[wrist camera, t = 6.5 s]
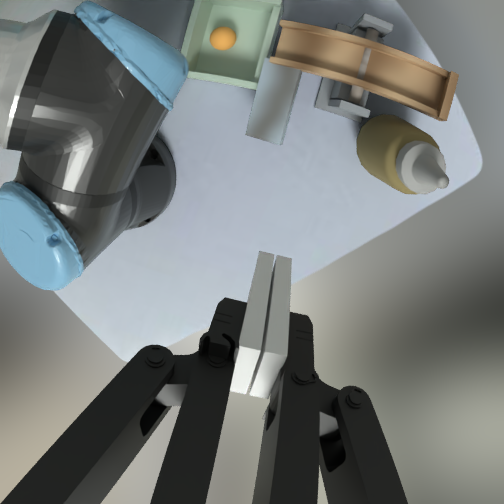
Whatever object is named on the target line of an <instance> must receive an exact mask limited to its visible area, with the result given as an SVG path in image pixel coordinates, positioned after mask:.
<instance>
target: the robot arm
mask: <svg viewBox="0 0 504 504" xmlns="http://www.w3.org/2000/svg"><path fill="white" fill-rule="evenodd" d="M74 12H75V14H69V13H66V12H62V11H58V10H52V11H50V12H48V13H46V14H44V15H43V16H41V17H39V18H37V19H35V20H34V21H31V22H28V23H23V22H18V21H12V20H5V19H0V144H1V146H2V148H3V149H10V150H17V151H22V153H21V158H20V162H19V167H18V172H17V176H16V178H15V179H14V180H13V181H10V182H6V183H4V184H3V185H2V186H1V188H0V248H1V250H2V252H3V254H4V256H5V257H6V259H7V260H8V261H9V263H10V264H11V265H12V267H13V268H14V269H15V270H16V271H17V272H18V273H19V274H20V275H21V276H22V277H23V278H24V279H26V280H27V281H28V282H30V283H31V284H33V285H35V286H37V287H39V288H41V289H44V290H60V289H62V288H64V287H66V286H67V285H68V284H69V283H70V282H72V281H73V280H74V279H75V278H78V277H79V276H81V274H82V272H83V270H84V269H85V268H86V267H87V266H88V265H89V264H90V263H91V262H92V261H93V260H94V259H95V258H96V257H97V256H98V255H99V254H100V253H101V252H102V251H103V250H104V249H105V248H106V247H107V246H109V245H110V244H111V243H112V242H113V241H114V240H115V239H116V238H117V237H118V236H119V235H120V234H121V233H122V232H123V231H125V230H129V229H133V228H138V227H141V226H144V225H147V224H148V223H150V222H152V221H153V220H155V219H156V218H157V217H158V216H159V215H160V214H161V213H162V212H163V211H164V210H165V209H166V208H167V206H168V205H169V203H170V201H171V199H172V197H173V194H174V191H175V185H176V171H175V166H174V162H173V159H172V156H171V154H170V152H169V150H168V149H167V147H166V146H165V144H164V143H163V142H162V141H161V139H160V138H158V137H157V136H156V133H157V131H158V129H159V127H160V126H161V124H162V122H163V120H164V118H165V117H166V115H167V113H168V111H171V110H172V108H173V102H174V100H175V98H176V96H177V94H178V92H179V91H180V89H181V87H182V85H183V83H184V81H185V80H186V78H187V76H188V72H189V64H188V61H187V59H186V57H185V56H184V55H183V54H182V53H181V52H179V51H178V50H177V49H175V48H174V47H172V46H171V45H169V44H167V43H166V42H164V41H163V40H161V39H159V38H158V37H156V36H155V35H153V34H151V33H150V32H148V31H146V30H145V29H143V28H141V27H139V26H137V25H136V24H134V23H132V22H130V21H129V20H127V19H125V18H123V17H121V16H119V15H117V14H115V13H113V12H111V11H109V10H107V9H105V8H103V7H102V6H100V5H98V4H96V3H93V2H91V1H84V2H82V3H81V4H80V5H79V6H77V7H76V8H75V10H74ZM273 260H274V254H270V253H266V252H262V251H259V255H258V259H257V264H256V268H255V272H254V276H253V280H252V284H251V288H250V292H249V296H248V301H247V303H246V302H242V301H238V300H234V299H230V298H226V297H225V298H224V299H223V300H222V301H220V302H219V303H218V305H217V308H216V311H215V314H214V317H213V320H212V322H211V325H210V328H209V331H208V332H206V333H204V334H203V335H202V337H201V338H200V342H199V350H198V351H197V352H195V353H194V354H190V355H173V354H172V352H171V351H170V350H169V349H167V348H166V347H163V346H160V345H149V346H145V347H144V348H142V349H141V350H140V351H139V352H138V353H137V354H136V355H135V356H134V357H133V358H132V359H131V360H130V361H129V362H128V363H127V365H126V366H125V367H124V368H123V369H122V370H121V371H120V372H119V373H118V374H117V375H116V376H115V378H113V379H112V381H111V382H110V383H109V384H108V385H107V386H106V387H105V388H104V389H103V390H102V391H101V392H100V394H99V395H98V396H97V397H96V398H95V399H94V400H93V401H92V402H91V403H90V404H89V406H88V407H87V408H86V409H85V410H84V411H83V412H82V413H81V414H80V415H79V416H78V417H77V419H76V420H75V421H74V422H73V423H72V424H71V425H70V426H69V427H68V429H67V430H66V431H65V432H64V433H63V434H62V435H61V436H60V437H59V438H58V439H57V441H56V442H55V443H54V444H53V445H52V446H51V447H50V448H49V450H48V451H47V452H46V453H45V454H44V455H43V456H42V457H41V458H40V460H39V461H38V462H37V463H36V464H35V465H34V466H33V467H32V468H31V470H30V471H29V472H28V473H27V474H26V475H25V476H24V478H23V479H22V480H21V481H20V482H19V483H18V484H17V485H16V487H15V488H14V489H13V490H12V491H11V492H10V493H9V495H8V496H7V497H6V498H5V499H4V500H3V501H2V503H1V504H100V503H101V502H102V501H103V499H104V498H105V497H106V496H107V494H108V493H109V492H110V490H111V489H112V488H113V486H114V485H115V484H116V482H117V481H118V480H119V478H120V477H121V475H122V474H123V473H124V472H125V470H126V469H127V467H128V466H129V465H130V463H131V462H132V461H133V459H134V458H135V457H136V455H137V454H138V453H139V451H140V450H141V448H142V447H143V446H144V444H145V443H146V441H147V440H148V439H149V438H150V436H151V435H152V433H153V432H154V431H155V429H156V428H157V426H158V425H159V424H160V422H161V421H162V420H163V418H164V417H165V415H166V414H167V413H168V411H169V410H170V408H171V407H172V406H181V408H180V411H179V414H178V417H177V420H176V423H175V426H174V429H173V432H172V435H171V439H170V442H169V445H168V448H167V451H166V455H165V457H164V461H163V464H162V467H161V471H160V473H159V477H158V480H157V483H156V486H155V490H154V493H153V496H152V499H151V503H150V504H205V503H206V498H207V494H208V489H209V485H210V480H211V476H212V471H213V467H214V462H215V457H216V453H217V448H218V443H219V439H220V434H221V429H222V424H223V420H224V415H225V411H226V406H227V401H228V396H229V392H230V391H233V392H238V393H242V394H246V392H247V389H248V387H249V384H250V380H251V378H252V382H251V388H250V394H249V395H252V396H256V397H262V398H267V399H268V398H269V396H270V394H271V396H270V403H269V405H268V407H267V410H266V411H265V413H264V416H263V418H262V419H263V420H265V424H264V430H263V437H262V444H261V451H260V458H259V465H258V471H257V477H256V484H255V489H254V495H253V502H252V504H317V499H318V478H319V465H320V469H321V474H322V478H323V482H324V487H325V491H326V495H327V500H328V504H408V502H407V500H406V497H405V493H404V490H403V487H402V484H401V481H400V478H399V475H398V472H397V470H396V467H395V464H394V461H393V459H392V456H391V453H390V450H389V447H388V445H387V442H386V439H385V437H384V434H383V431H382V428H381V426H380V423H379V420H378V418H377V415H376V413H375V410H374V408H373V405H372V402H371V400H370V398H369V396H368V395H367V393H366V392H365V391H364V390H362V389H360V388H358V387H356V386H346V387H343V388H342V389H341V390H338V389H336V388H333V387H331V386H329V385H327V384H325V383H324V382H322V381H321V380H320V379H319V376H318V374H317V373H316V371H315V369H314V348H313V347H314V345H313V324H312V322H311V320H310V319H309V317H308V316H307V315H302V314H298V313H293V312H290V290H291V261H292V259H291V258H287V257H283V256H279V255H277V257H276V260H275V264H274V268H273ZM272 268H273V271H272ZM252 375H253V376H252Z"/></svg>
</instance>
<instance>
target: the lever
mask: <svg viewBox="0 0 504 504" xmlns="http://www.w3.org/2000/svg"><path fill="white" fill-rule="evenodd" d="M279 25H280V26H281V27H283V28H282V32H281V35H280V39H279V42H278V46H277V50H276V53H275V57H271V56H270V59H269V58H265V60H264V63H263V67H262V71H261V75H260V78H259V82H258V86H257V90H256V94H255V98H254V102H253V106H252V110H251V114H250V118H249V122H248V126H247V130H246V134H245V135H247V136H251V137H254V138H258V139H261V140H264V141H268V142H271V143H274V144H277V145H282V144H283V140H284V136H285V133H286V129H287V126H288V122H289V118H290V115H291V111H292V107H293V104H294V100H295V96H296V93H297V89H298V86H299V82H300V78H301V75H302V71H303V72H307V73H311V74H315V75H319V76H322V77H326V78H329V79H333V80H336V81H339V82H343V83H346V84H349V85H352V88H351V91H350V95H349V98H348V100H349V101H351V102H354V103H357V104H360V100H361V97H362V94H363V90H367V91H369V92H372V93H375V94H378V95H380V96H383V97H386V98H388V99H391V100H393V101H395V102H398V103H400V104H403V105H405V106H408V107H410V108H412V109H415V110H417V111H419V112H421V113H423V114H426V115H428V116H430V117H432V118H435V119H437V120H439V121H447V118H448V114H449V111H450V107H451V104H452V100H453V96H454V93H455V89H456V84H457V81H458V76H459V75H458V74H456V73H454V72H452V71H451V72H448V71H446V70H444V69H442V68H440V67H438V66H436V65H433V64H431V63H429V62H427V61H424V60H422V59H420V58H417V57H415V56H412V55H410V54H407V53H405V52H402V51H400V50H397V49H394V48H391V47H389V46H386V45H383V44H380V43H377V38H378V34H379V32H378V31H376V30H374V29H370V28H368V29H367V33H366V36H365V39H364V38H361V37H358V36H354V35H351V34H347V33H343V32H339V31H335V30H331V29H327V28H323V27H318V26H314V25H309V24H304V23H298V22H293V21H287V20H280V23H279Z"/></svg>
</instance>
